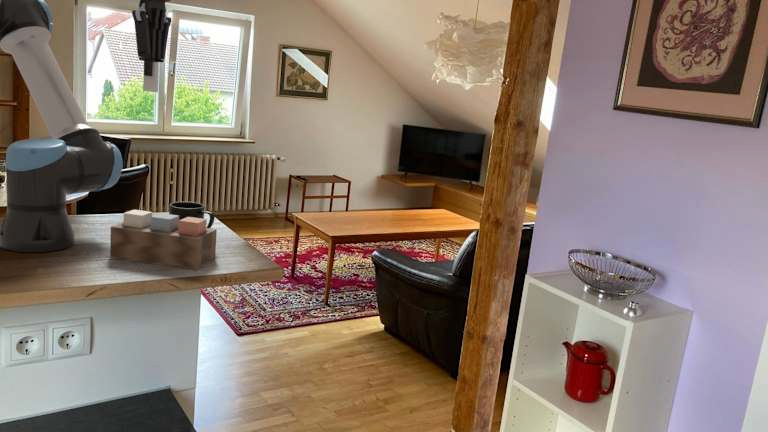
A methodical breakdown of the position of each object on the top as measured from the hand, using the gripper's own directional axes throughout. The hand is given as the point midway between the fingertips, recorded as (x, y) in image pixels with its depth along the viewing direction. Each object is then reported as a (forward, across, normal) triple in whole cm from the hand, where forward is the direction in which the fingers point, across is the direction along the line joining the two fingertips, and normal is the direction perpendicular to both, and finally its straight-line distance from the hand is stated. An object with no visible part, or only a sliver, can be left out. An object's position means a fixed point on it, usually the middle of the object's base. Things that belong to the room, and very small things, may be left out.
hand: (150, 91), depth 141 cm
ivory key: (+34, -5, -1) cm, 34 cm away
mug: (+37, +9, -7) cm, 38 cm away
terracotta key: (+34, -5, -14) cm, 37 cm away
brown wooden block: (+36, -5, -7) cm, 37 cm away
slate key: (+34, -5, -7) cm, 35 cm away
